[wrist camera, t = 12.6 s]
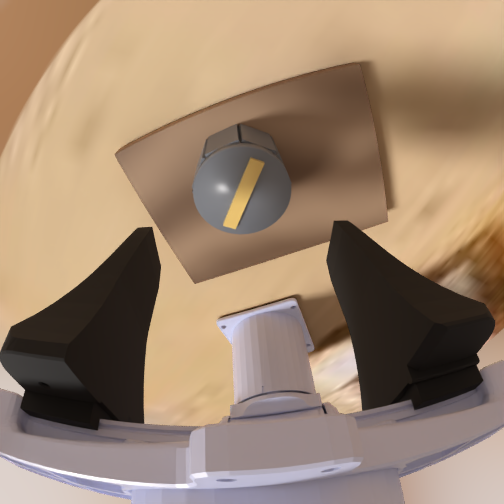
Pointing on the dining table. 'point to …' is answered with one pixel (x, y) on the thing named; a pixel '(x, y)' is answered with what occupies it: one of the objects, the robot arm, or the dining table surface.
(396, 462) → the robot arm
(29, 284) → the dining table surface
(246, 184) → the grey control knob
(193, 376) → the dining table surface
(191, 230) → the stud board
